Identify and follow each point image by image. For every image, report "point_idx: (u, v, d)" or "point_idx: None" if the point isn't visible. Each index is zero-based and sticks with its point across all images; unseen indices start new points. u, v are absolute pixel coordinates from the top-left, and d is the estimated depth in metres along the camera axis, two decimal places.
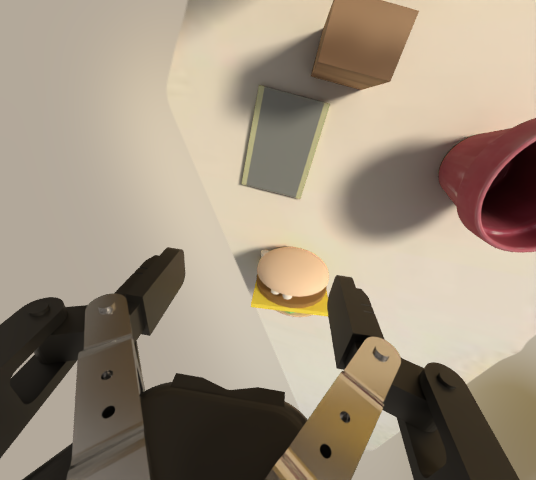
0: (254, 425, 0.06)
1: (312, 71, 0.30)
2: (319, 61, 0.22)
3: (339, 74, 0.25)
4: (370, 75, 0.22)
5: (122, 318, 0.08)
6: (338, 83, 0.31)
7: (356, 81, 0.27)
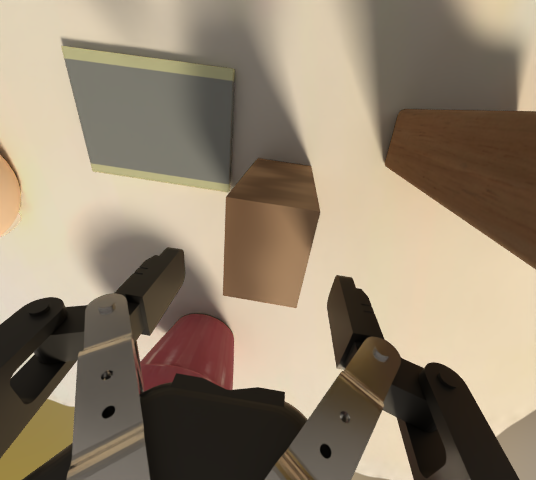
0: (254, 425, 0.06)
1: (257, 162, 0.20)
2: (227, 199, 0.13)
3: None
4: (224, 272, 0.15)
5: (122, 318, 0.08)
6: None
7: None
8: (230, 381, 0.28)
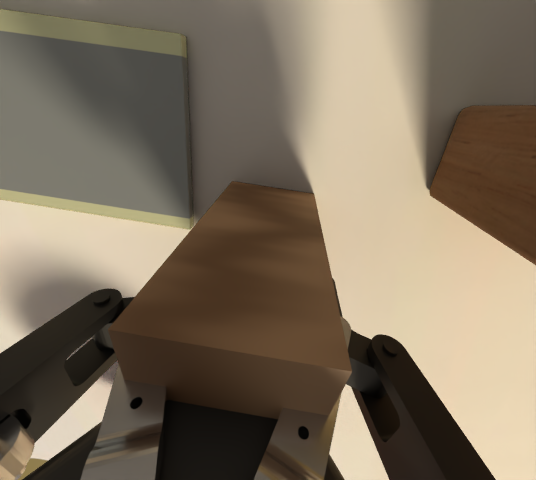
0: (254, 425, 0.06)
1: (229, 192, 0.13)
2: (113, 332, 0.05)
3: None
4: None
5: None
6: None
7: None
8: None
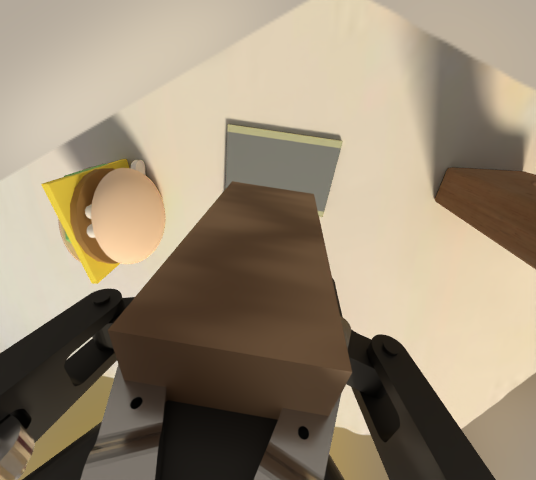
0: (254, 425, 0.06)
1: (229, 192, 0.13)
2: (113, 332, 0.05)
3: None
4: None
5: None
6: None
7: None
8: None
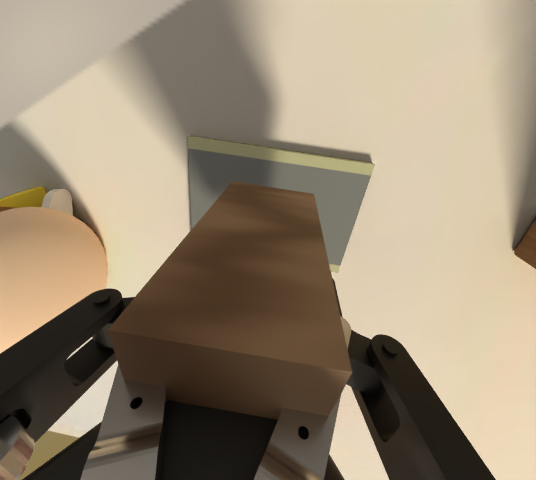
0: (254, 425, 0.06)
1: (229, 192, 0.13)
2: (113, 332, 0.05)
3: None
4: None
5: None
6: None
7: None
8: None
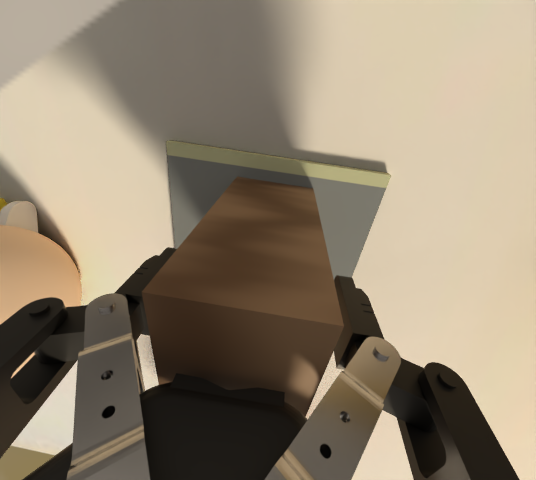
0: (254, 425, 0.06)
1: (234, 186, 0.14)
2: (145, 294, 0.06)
3: None
4: None
5: (122, 318, 0.08)
6: None
7: None
8: None
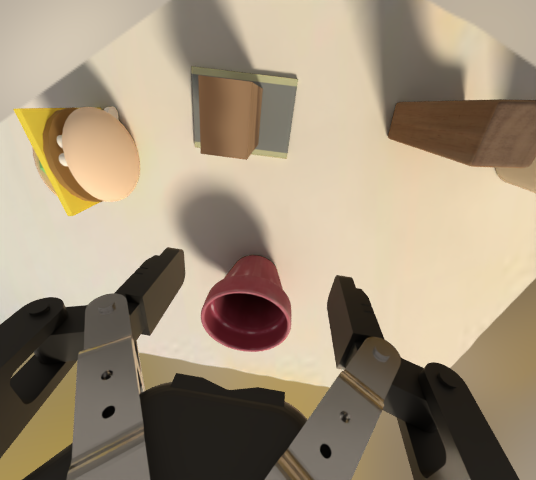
0: (254, 425, 0.06)
1: None
2: (199, 76, 0.22)
3: None
4: (200, 134, 0.25)
5: (122, 318, 0.08)
6: None
7: None
8: None
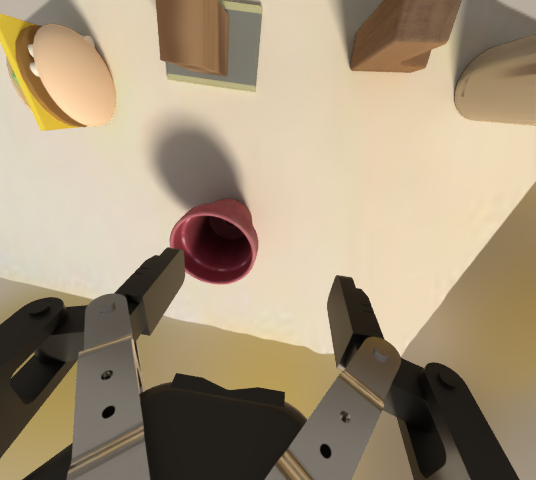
0: (254, 425, 0.06)
1: None
2: None
3: None
4: (159, 38, 0.26)
5: (122, 318, 0.08)
6: None
7: None
8: None
